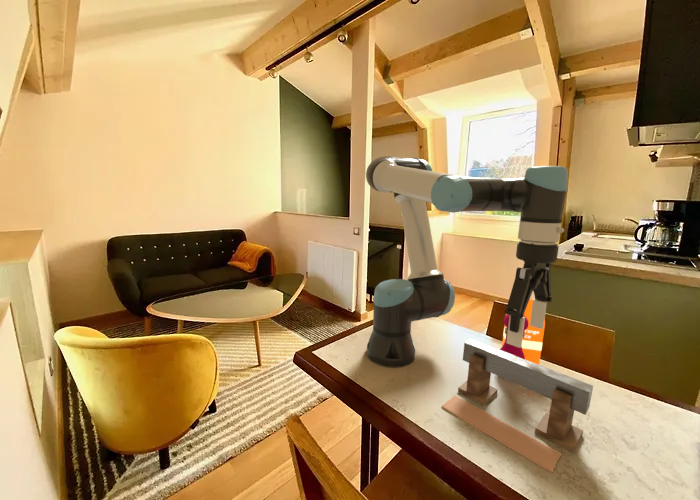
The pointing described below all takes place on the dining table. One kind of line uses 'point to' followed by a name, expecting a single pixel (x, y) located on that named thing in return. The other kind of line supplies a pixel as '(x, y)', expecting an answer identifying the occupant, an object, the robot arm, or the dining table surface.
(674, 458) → the dining table surface
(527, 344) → the orange juice
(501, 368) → the rail
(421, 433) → the dining table surface
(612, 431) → the dining table surface
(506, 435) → the mat
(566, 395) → the hook stands
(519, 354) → the pepper mill
